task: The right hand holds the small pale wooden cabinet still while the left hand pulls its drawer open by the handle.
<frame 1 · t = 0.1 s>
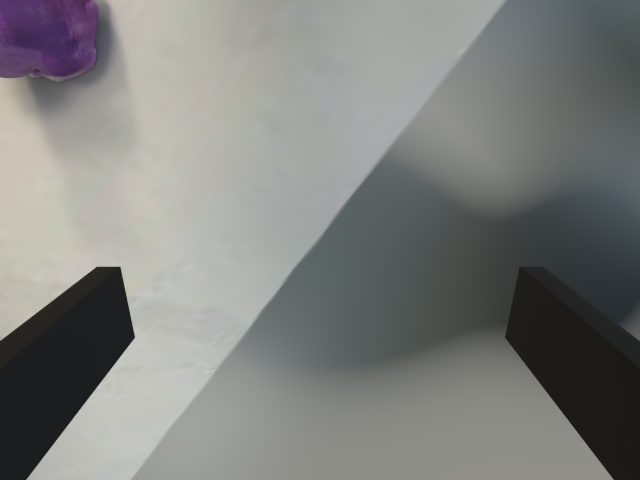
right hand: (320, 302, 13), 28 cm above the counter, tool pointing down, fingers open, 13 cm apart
figurine: (55, 41, 35), on the counter
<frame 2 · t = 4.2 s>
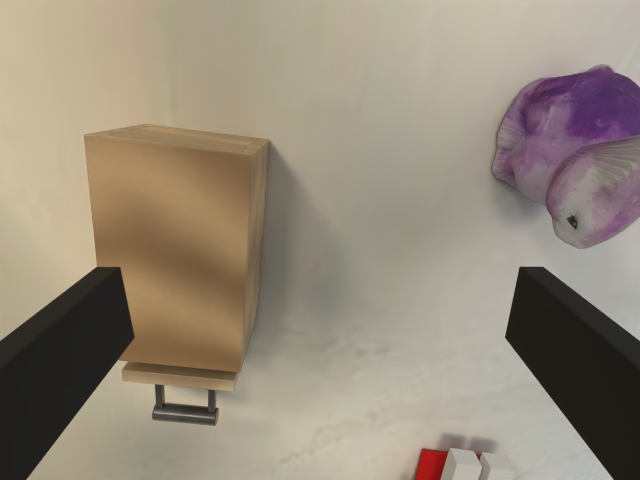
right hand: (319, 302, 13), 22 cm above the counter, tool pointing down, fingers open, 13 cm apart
cabinet: (205, 227, 35), on the counter
figurine: (540, 140, 32), on the counter
drawer: (191, 313, 34), point 4 cm above the counter, slide at 1.8 cm
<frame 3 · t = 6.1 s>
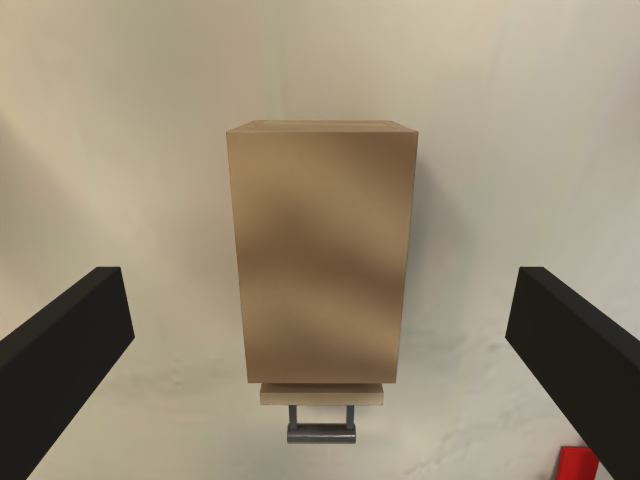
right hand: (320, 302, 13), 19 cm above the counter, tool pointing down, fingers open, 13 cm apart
cabinet: (321, 228, 32), on the counter
drawer: (321, 323, 30), point 4 cm above the counter, slide at 1.8 cm
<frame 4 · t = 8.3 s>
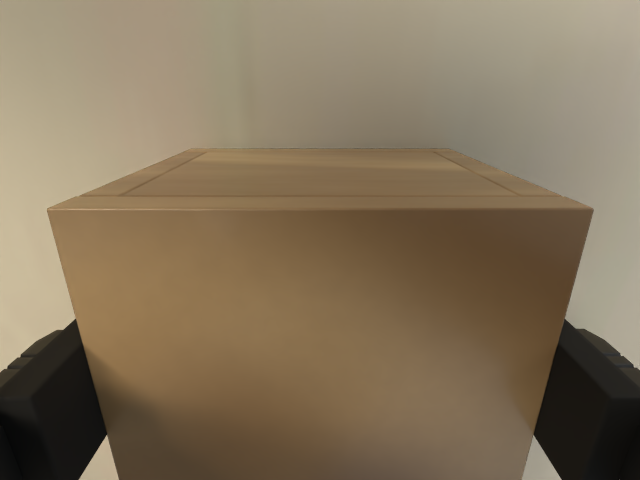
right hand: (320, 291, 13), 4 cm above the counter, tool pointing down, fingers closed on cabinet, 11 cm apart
cabinet: (320, 329, 19), on the counter, touching right hand
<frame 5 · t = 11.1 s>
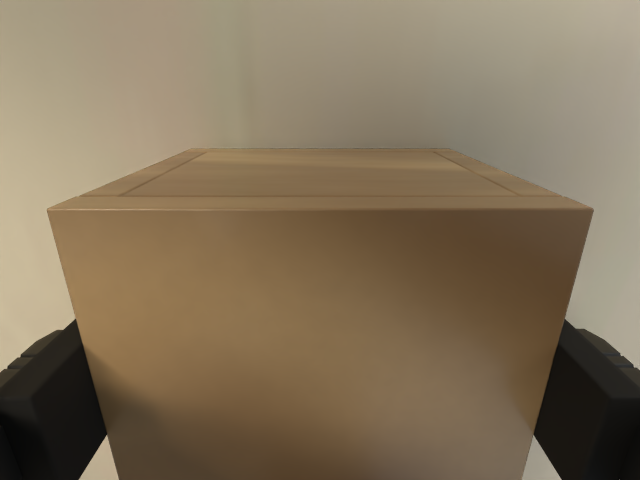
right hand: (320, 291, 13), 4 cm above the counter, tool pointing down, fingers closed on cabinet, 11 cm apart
cabinet: (320, 329, 19), on the counter, touching right hand
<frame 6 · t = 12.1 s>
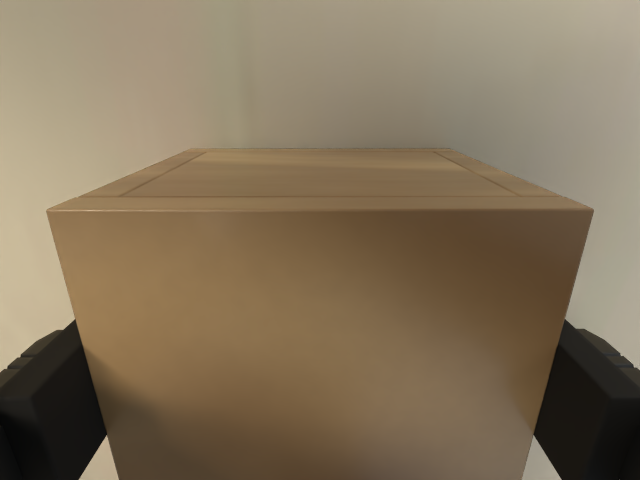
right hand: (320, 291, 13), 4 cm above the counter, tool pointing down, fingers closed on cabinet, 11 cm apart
cabinet: (320, 329, 19), on the counter, touching right hand
when the right hand's fingers open (4 cm above the counter, at t = 13.9 s): cabinet stays where it is, on the counter.
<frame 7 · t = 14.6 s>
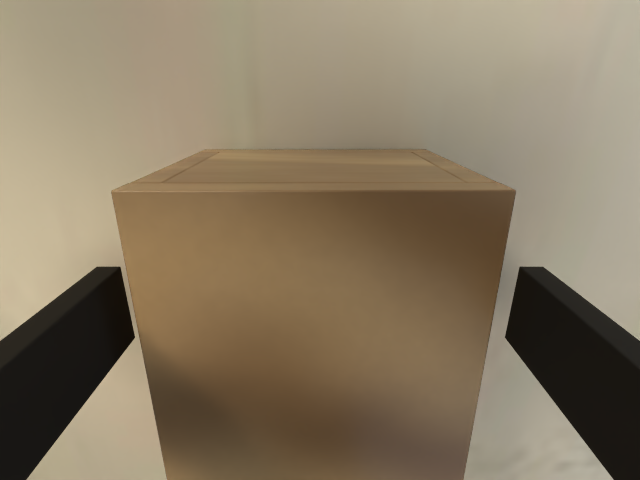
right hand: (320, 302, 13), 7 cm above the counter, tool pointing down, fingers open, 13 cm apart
cabinet: (316, 309, 21), on the counter
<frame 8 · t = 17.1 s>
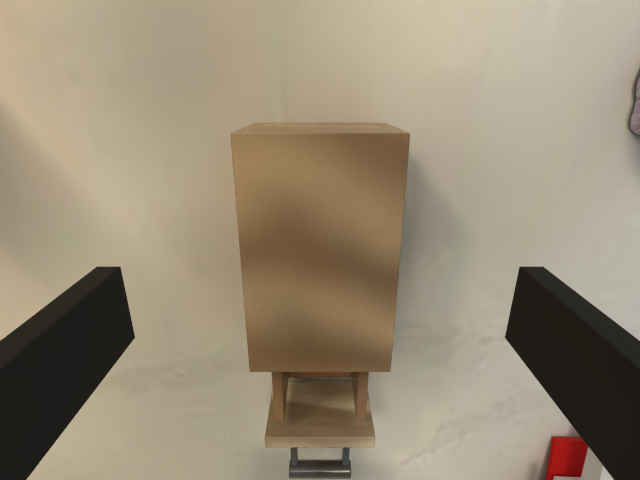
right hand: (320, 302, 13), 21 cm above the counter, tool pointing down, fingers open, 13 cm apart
cabinet: (320, 225, 34), on the counter
drawer: (320, 372, 34), point 4 cm above the counter, slide at 7.7 cm
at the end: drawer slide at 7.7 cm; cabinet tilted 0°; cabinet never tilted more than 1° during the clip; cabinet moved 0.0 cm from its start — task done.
